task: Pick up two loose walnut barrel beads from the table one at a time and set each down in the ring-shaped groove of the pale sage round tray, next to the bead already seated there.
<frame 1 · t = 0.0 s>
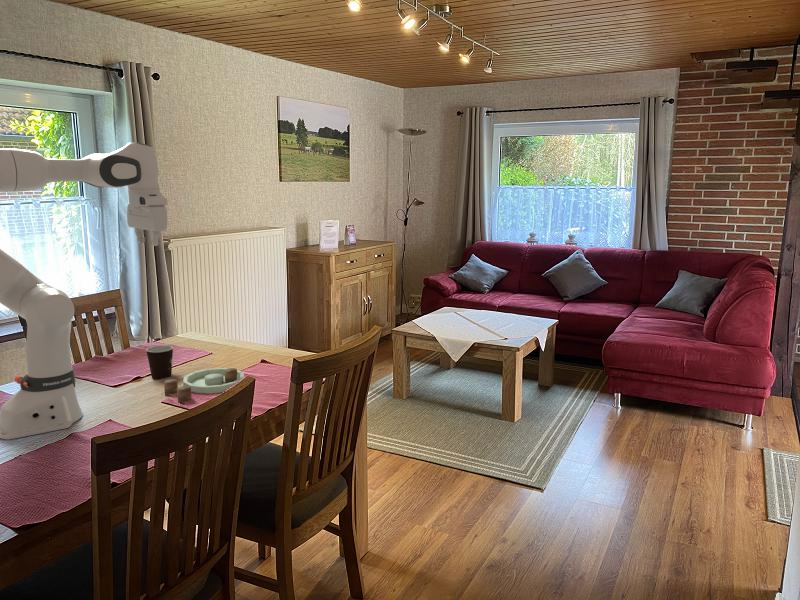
hand: (148, 244, 192), 48 cm above the table, fingers open, 8 cm apart
coffee mug: (164, 375, 219), on the table
bead a: (171, 394, 200), on the table
tray: (214, 385, 209), on the table
bead b: (185, 402, 194), on the table
bead c: (231, 382, 209), point 1 cm above the table, touching tray
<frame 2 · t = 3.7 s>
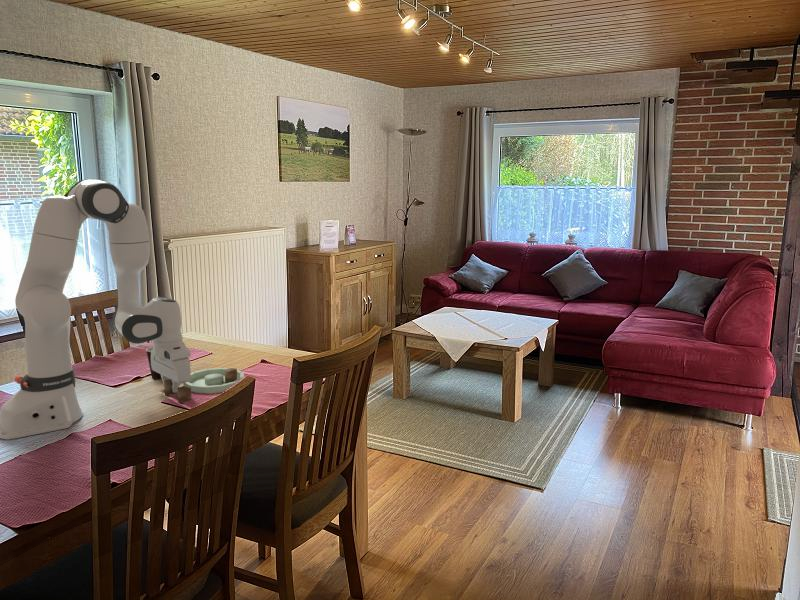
hand: (171, 389, 200), 2 cm above the table, fingers closed on bead a, 4 cm apart
bead a: (171, 394, 200), on the table, touching gripper
everything else where it was.
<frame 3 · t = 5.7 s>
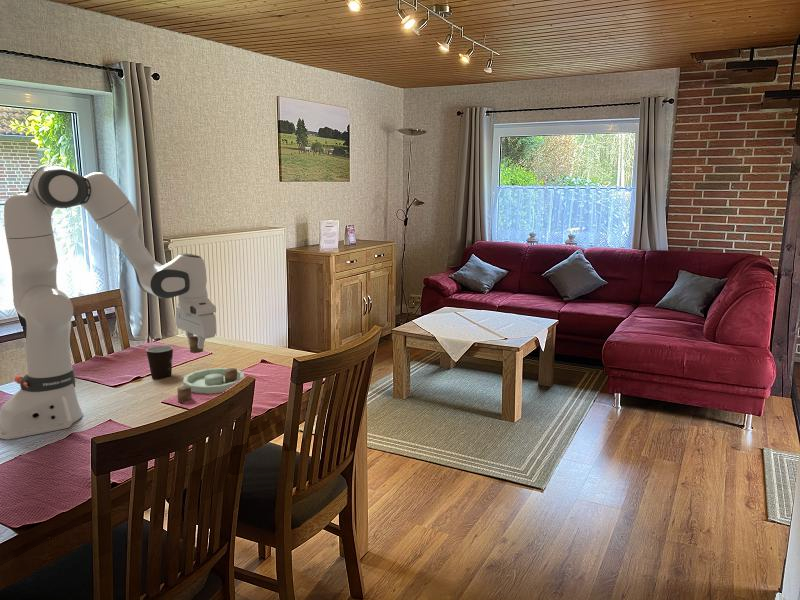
hand: (196, 346, 202), 15 cm above the table, fingers closed on bead a, 4 cm apart
bead a: (196, 351, 202), point 13 cm above the table, touching gripper
everything else where it was.
when the fingers open (4 cm above the table, at t = 7.9 s): bead a stays where it is, resting on tray.
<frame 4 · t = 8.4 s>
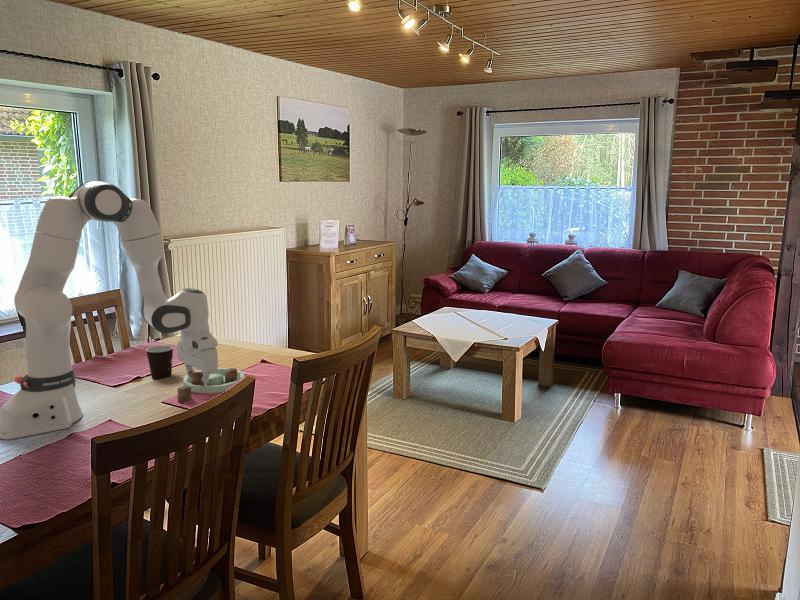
hand: (197, 379, 204), 4 cm above the table, fingers open, 8 cm apart
bead a: (198, 386, 205), point 1 cm above the table, touching tray
everything else where it was.
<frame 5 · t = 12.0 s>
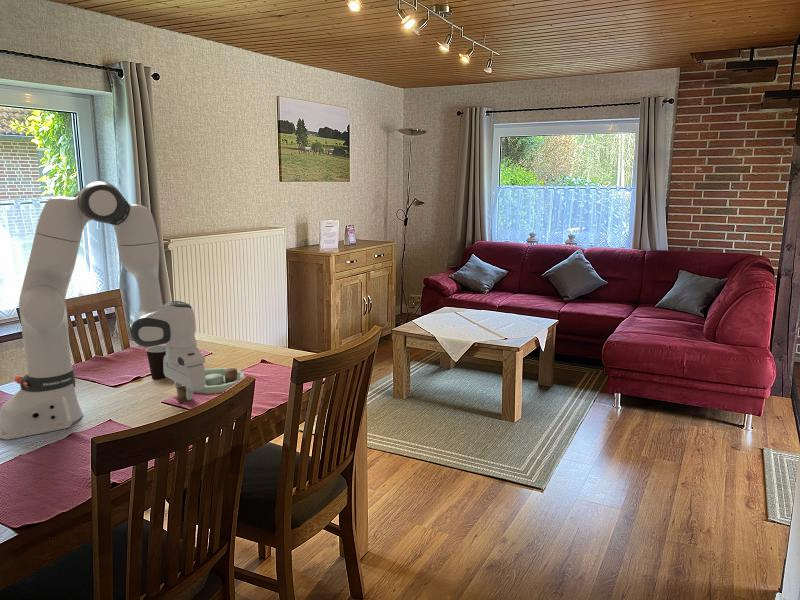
hand: (184, 396, 194), 2 cm above the table, fingers closed on bead b, 4 cm apart
bead b: (185, 401, 194), on the table, touching gripper
everything else where it was.
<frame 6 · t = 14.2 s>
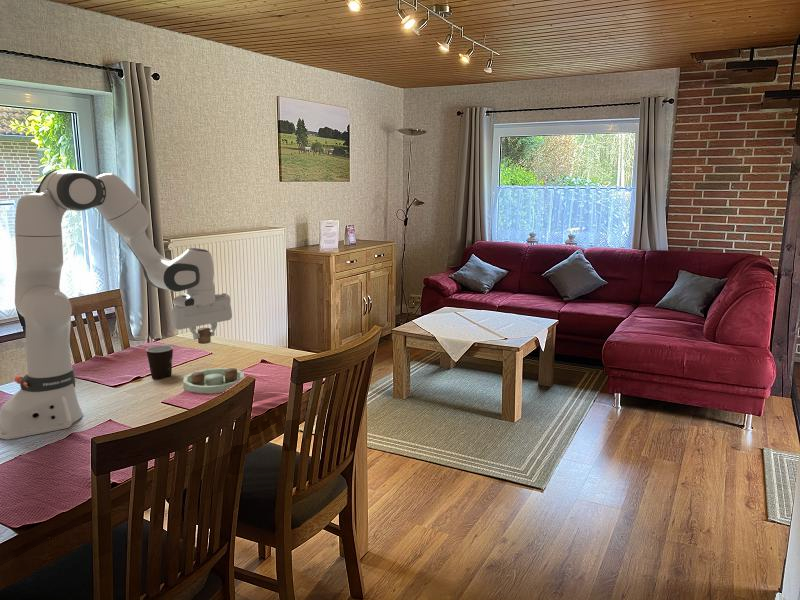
hand: (204, 337, 209), 16 cm above the table, fingers closed on bead b, 4 cm apart
bead b: (204, 342, 210), point 14 cm above the table, touching gripper
everything else where it was.
when the fingers open (4 cm above the table, at t = 16.7 s): bead b stays where it is, resting on tray.
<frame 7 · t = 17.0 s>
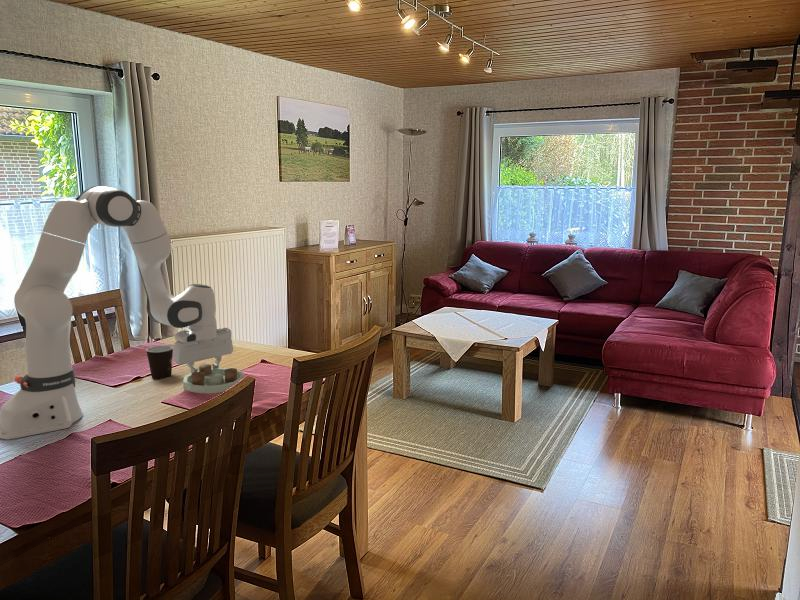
hand: (205, 371, 212), 4 cm above the table, fingers open, 6 cm apart
bead b: (205, 378, 212), point 1 cm above the table, touching tray
everything else where it was.
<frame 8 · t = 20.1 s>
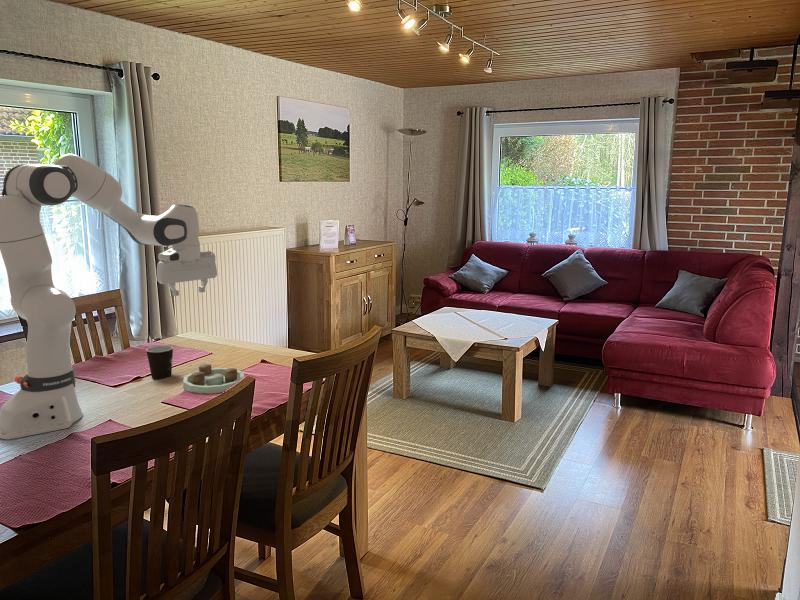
hand: (189, 293, 212), 29 cm above the table, fingers open, 8 cm apart
nothing on the table moved.
at the end: bead a 0.1 cm from the target spot on the tray, point 1.0 cm above the tray's base; bead b 0.3 cm from the target spot on the tray, point 1.0 cm above the tray's base; bead b tilted 0° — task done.
